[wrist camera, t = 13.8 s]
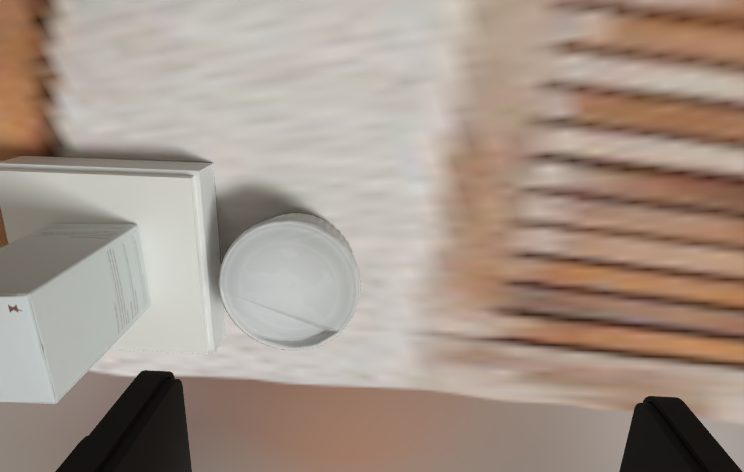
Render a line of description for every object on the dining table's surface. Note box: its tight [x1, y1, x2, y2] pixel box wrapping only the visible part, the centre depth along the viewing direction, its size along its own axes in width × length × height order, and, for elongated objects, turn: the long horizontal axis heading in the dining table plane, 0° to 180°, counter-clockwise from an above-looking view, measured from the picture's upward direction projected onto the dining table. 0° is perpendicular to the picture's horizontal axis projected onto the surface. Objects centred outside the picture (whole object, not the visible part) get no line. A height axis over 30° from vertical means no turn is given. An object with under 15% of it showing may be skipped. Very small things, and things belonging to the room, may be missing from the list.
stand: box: [0, 156, 226, 354], centre depth 43 cm, size 16×16×4 cm
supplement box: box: [0, 224, 151, 404], centre depth 35 cm, size 7×7×13 cm
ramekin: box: [218, 213, 361, 350], centre depth 42 cm, size 11×11×5 cm
